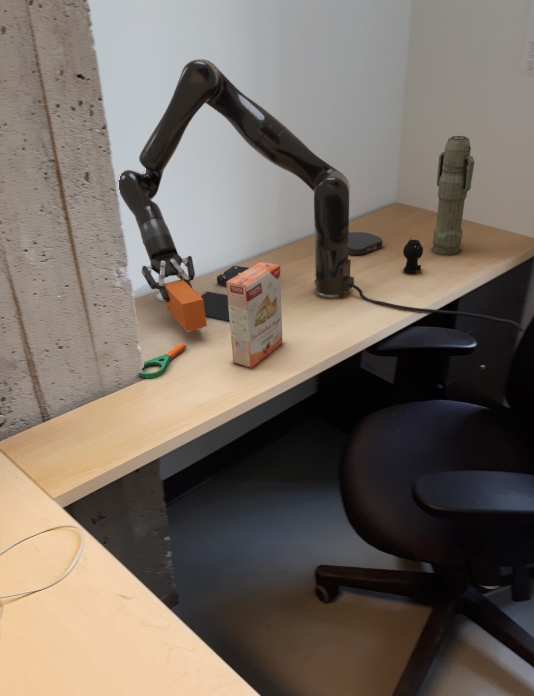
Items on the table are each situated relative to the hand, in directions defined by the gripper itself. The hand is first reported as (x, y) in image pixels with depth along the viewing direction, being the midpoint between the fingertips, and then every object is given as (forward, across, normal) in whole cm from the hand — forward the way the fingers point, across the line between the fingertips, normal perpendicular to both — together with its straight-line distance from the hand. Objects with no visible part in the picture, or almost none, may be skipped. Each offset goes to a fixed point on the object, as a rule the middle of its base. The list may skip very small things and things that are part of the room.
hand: (179, 297), depth 155 cm
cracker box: (+23, +10, -12) cm, 28 cm away
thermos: (+3, +94, +9) cm, 94 cm away
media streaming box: (-11, +72, +23) cm, 76 cm away
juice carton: (+5, 0, +1) cm, 5 cm away
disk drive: (-6, +26, +18) cm, 32 cm away
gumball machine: (+9, +73, +3) cm, 74 cm away
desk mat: (+3, +13, +8) cm, 16 cm away
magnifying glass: (+18, -11, -6) cm, 22 cm away
